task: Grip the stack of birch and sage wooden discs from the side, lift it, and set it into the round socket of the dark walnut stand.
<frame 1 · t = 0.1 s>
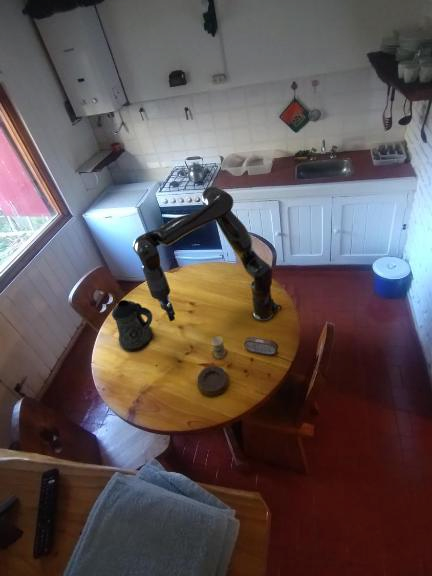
hand: (168, 313, 142), 29 cm above the table, tool pointing down, fingers open, 8 cm apart
disc stack: (219, 353, 158), on the table
tin: (261, 352, 155), on the table
stand: (213, 383, 146), on the table
beer stein: (140, 338, 174), on the table
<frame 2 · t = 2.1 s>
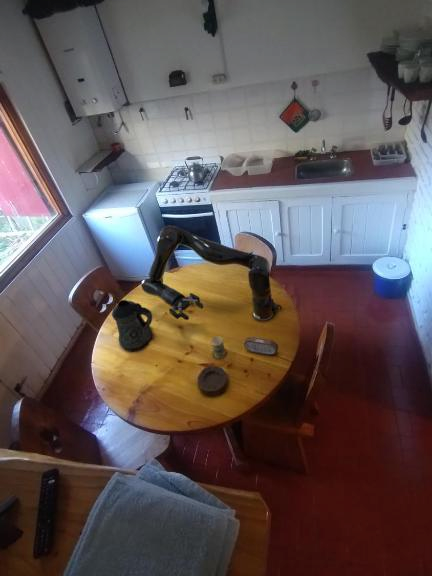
hand: (195, 312, 153), 20 cm above the table, tool horizontal, fingers open, 8 cm apart
nothing on the table moved.
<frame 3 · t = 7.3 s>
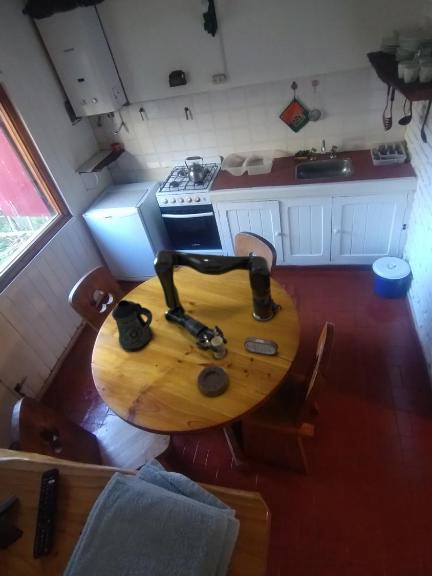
hand: (221, 346, 152), 7 cm above the table, tool horizontal, fingers closed on disc stack, 5 cm apart
disc stack: (219, 353, 158), on the table, touching gripper
everything else where it was.
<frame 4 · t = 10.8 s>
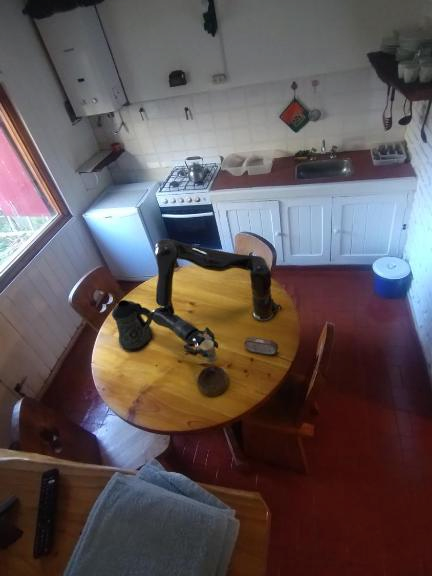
hand: (212, 350, 137), 18 cm above the table, tool horizontal, fingers closed on disc stack, 5 cm apart
disc stack: (210, 358, 143), point 11 cm above the table, touching gripper
everything else where it was.
when the fingers open (10 cm above the table, at t = 14.3 s): disc stack stays where it is, resting on stand.
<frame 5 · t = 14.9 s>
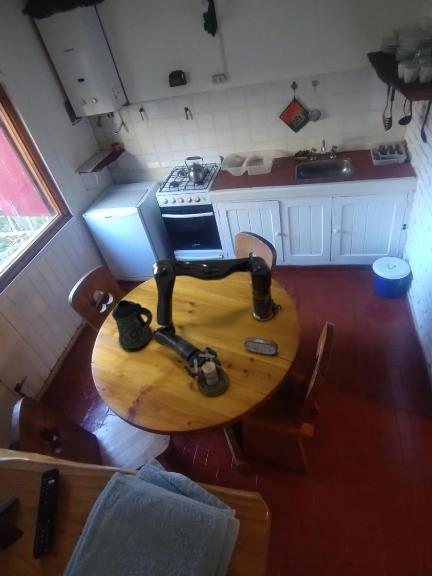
hand: (212, 371, 139), 10 cm above the table, tool horizontal, fingers open, 8 cm apart
disc stack: (212, 380, 145), point 2 cm above the table, touching stand
everything else where it was.
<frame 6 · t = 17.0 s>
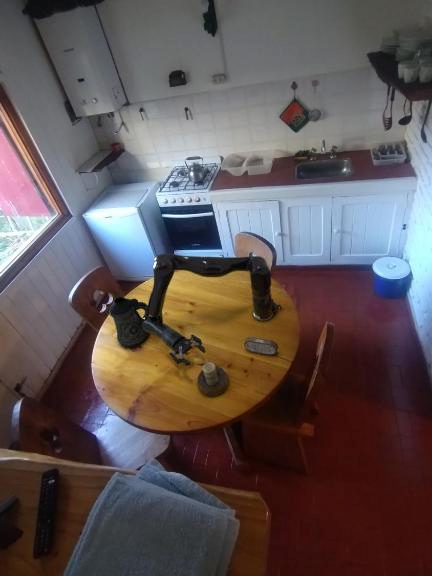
hand: (197, 357, 144), 12 cm above the table, tool horizontal, fingers open, 8 cm apart
beer stein: (137, 334, 176), on the table, touching arm
everything else where it was.
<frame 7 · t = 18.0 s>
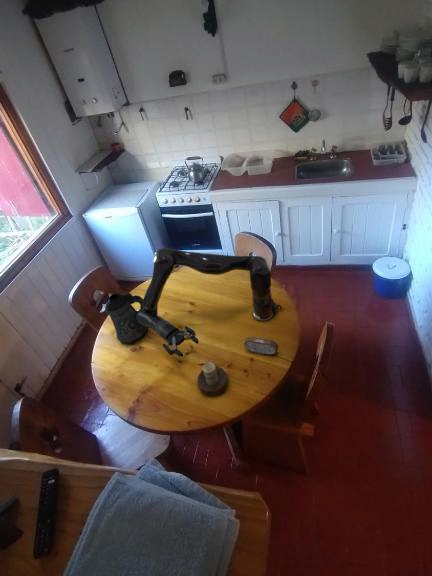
hand: (190, 348, 144), 15 cm above the table, tool horizontal, fingers open, 8 cm apart
beer stein: (137, 331, 176), point 1 cm above the table
everything else where it was.
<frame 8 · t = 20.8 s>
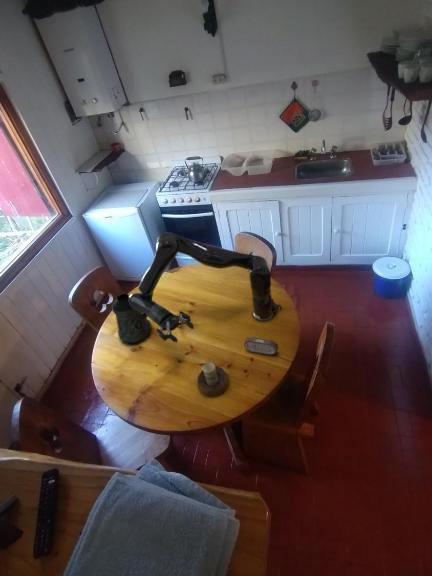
hand: (184, 333, 139), 24 cm above the table, tool horizontal, fingers open, 8 cm apart
beer stein: (138, 331, 178), on the table
everything else where it was.
at the end: disc stack 0.1 cm off-centre in the stand, point 2.5 cm above the stand's base; disc stack tilted 0°; the gripper is holding nothing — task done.
